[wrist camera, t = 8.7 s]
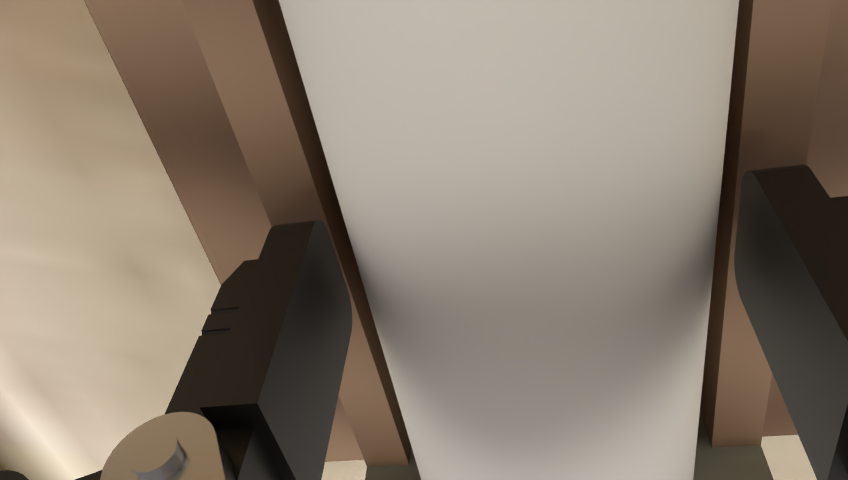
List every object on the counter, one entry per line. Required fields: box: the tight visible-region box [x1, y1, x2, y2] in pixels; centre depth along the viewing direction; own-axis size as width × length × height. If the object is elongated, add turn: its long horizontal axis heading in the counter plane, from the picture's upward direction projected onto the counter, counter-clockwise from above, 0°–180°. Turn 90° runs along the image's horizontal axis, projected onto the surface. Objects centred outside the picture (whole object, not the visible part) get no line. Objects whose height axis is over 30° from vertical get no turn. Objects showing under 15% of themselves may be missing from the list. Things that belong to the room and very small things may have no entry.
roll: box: [279, 0, 739, 480], centre depth 11 cm, size 13×6×6 cm, turn 10°
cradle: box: [84, 0, 848, 480], centre depth 12 cm, size 19×14×6 cm
